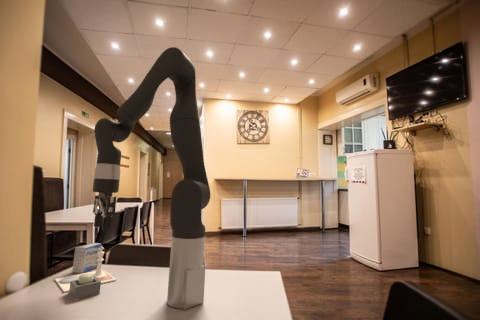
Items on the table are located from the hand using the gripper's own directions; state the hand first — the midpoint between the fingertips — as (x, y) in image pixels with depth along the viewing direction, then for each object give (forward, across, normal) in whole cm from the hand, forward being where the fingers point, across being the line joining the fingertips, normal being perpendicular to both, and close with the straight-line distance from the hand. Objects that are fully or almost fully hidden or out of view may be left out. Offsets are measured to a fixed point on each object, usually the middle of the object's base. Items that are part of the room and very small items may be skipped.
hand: (101, 228), depth 75 cm
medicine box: (+17, +17, -1) cm, 24 cm away
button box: (+17, -6, +4) cm, 18 cm away
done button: (+15, -6, +4) cm, 16 cm away
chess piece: (+17, +4, -2) cm, 17 cm away
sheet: (+17, +5, +2) cm, 18 cm away
